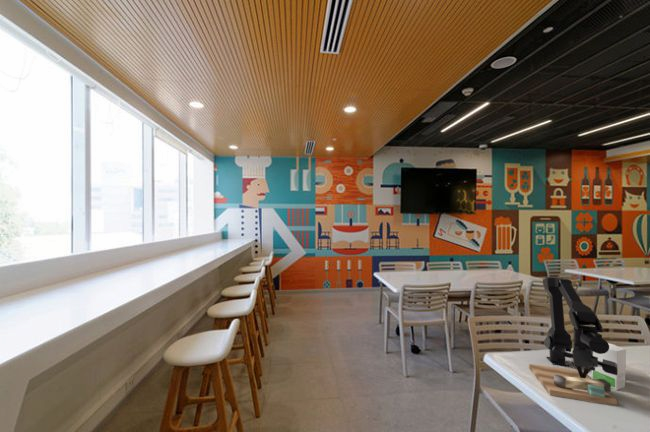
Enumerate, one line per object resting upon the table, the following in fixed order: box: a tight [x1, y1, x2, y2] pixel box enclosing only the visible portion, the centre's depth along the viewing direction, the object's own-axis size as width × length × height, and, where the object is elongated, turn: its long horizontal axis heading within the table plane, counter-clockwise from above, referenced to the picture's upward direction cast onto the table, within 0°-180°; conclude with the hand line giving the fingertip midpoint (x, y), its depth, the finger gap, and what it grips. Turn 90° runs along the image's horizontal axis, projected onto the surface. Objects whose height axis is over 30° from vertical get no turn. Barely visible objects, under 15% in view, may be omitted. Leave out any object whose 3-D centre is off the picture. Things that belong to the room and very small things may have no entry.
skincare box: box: [590, 342, 627, 391], centre depth 112 cm, size 8×7×16 cm
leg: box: [554, 375, 612, 393], centre depth 106 cm, size 18×4×3 cm, turn 80°
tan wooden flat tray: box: [528, 363, 618, 407], centre depth 111 cm, size 20×20×5 cm
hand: (582, 381), depth 109 cm, fingers closed
